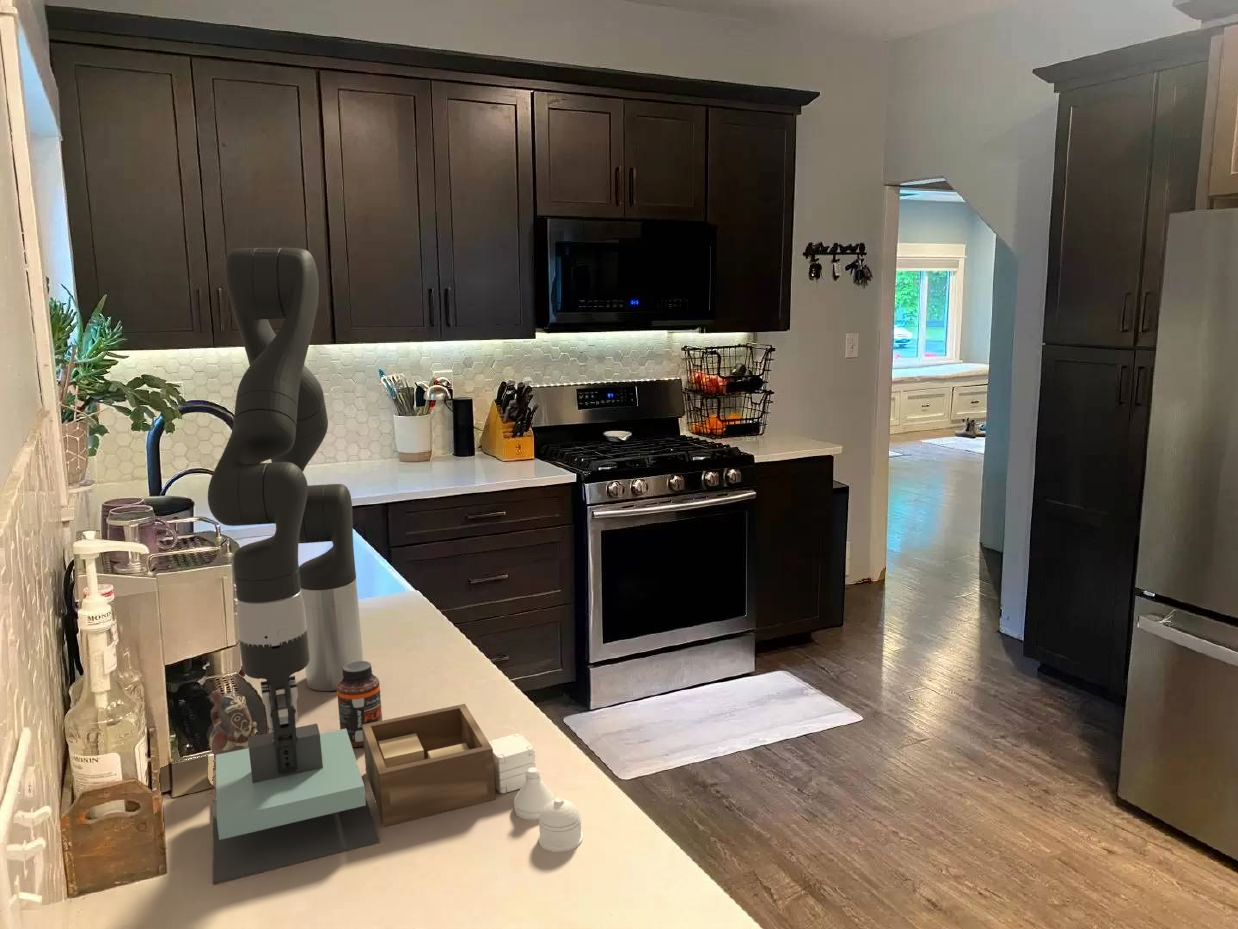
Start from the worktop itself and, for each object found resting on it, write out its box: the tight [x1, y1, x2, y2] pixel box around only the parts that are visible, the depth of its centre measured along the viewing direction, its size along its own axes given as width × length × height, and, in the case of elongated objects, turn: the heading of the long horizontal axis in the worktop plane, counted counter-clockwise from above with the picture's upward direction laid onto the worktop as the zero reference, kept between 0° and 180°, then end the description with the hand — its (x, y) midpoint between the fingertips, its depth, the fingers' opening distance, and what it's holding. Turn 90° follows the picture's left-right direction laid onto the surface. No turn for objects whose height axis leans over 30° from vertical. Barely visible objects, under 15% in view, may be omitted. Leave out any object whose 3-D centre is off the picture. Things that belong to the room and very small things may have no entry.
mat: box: [212, 794, 380, 885], centre depth 114 cm, size 18×18×1 cm
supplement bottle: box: [336, 660, 383, 748], centre depth 133 cm, size 6×6×11 cm
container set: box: [488, 733, 584, 853], centre depth 115 cm, size 20×5×6 cm, turn 29°
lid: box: [215, 723, 366, 840], centre depth 112 cm, size 16×16×7 cm
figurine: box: [208, 689, 258, 789], centre depth 124 cm, size 7×7×12 cm
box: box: [362, 703, 496, 828], centre depth 121 cm, size 14×14×7 cm
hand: (286, 764), depth 112 cm, fingers closed on lid, 3 cm apart
